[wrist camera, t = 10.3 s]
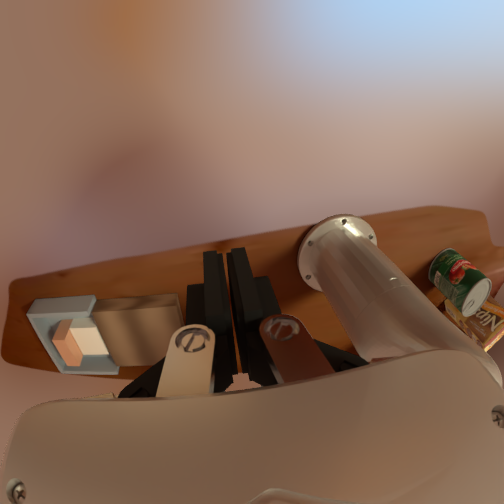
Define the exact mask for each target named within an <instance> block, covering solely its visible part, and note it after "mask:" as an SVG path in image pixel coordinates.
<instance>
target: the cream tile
mask: <svg viewBox="0 0 504 504" xmlns="http://www.w3.org/2000/svg"><path fill="white" fill-rule="evenodd" d="M69 329H70V331H71V333H72V335H73V337H74V339H75V341H76V343H77V344H78V346H79V348H80V350H81V352H82V354H83V355H102V354H109V350H108V348H107V346H106V344H105V342H104V339H103V337H102V335H101V333H100V331H99V329H98V326H97V324H96V322H95V320H94V317H89V318H73V321H72V323H71V325H70V327H69Z"/></svg>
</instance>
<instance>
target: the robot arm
mask: <svg viewBox="0 0 504 504" xmlns="http://www.w3.org/2000/svg"><path fill="white" fill-rule="evenodd" d="M226 255H227V266H228V276H229V286H230V296H231V306H232V313H233V320H234V326H235V332H236V338H237V344H238V350H239V355H240V361H241V367H242V372H243V373H248V375H249V379H250V381H255V382H256V383H258V384H260V385H261V387H259V388H252V389H245V390H237V391H229V392H225V390H226V388H228V387H229V386H230V385H231V384H232V383H233V377H232V375H235V374H238V369H237V361H236V353H235V345H234V336H233V327H232V319H231V311H230V304H229V297H228V291H227V284H226V277H225V270H224V263H223V256H222V253H220V254H217V251H207V252H203V263H204V283H203V284H193V285H188V286H187V303H186V326H184V327H182V328H180V329H178V330H177V331H176V332H175V333H174V334H173V335H172V337H171V340H170V343H169V347H168V351H167V355H166V356H165V357H164V358H162V359H161V360H160V361H159V362H157V363H156V364H155V365H153V366H152V367H151V368H150V369H148V370H147V371H146V372H144V373H143V374H142V375H141V376H139V377H138V378H137V379H135V380H134V381H133V382H131V383H130V384H129V385H127V386H126V387H125V388H124V389H123V390H122V391H121V392H120V394H119V395H114V394H113V393H107V394H102V395H97V396H91V397H86V398H72V399H61V400H55V401H49V402H46V403H42V404H38V405H36V406H33V407H31V408H29V409H27V410H26V411H25V412H24V413H22V414H21V415H20V417H19V418H18V419H17V421H16V423H15V425H14V427H13V429H12V431H11V434H10V436H9V439H8V442H7V445H6V448H5V452H4V456H3V460H2V464H1V468H0V504H504V390H503V389H502V377H501V373H500V371H499V368H498V366H497V365H496V363H495V362H494V361H493V359H492V358H491V357H490V356H489V355H488V354H487V353H486V352H485V351H484V350H483V349H482V348H481V347H480V346H479V345H477V344H476V343H475V342H474V341H473V340H471V339H470V338H469V337H468V336H467V335H465V334H464V333H463V332H462V331H461V330H459V329H458V328H457V327H456V326H455V325H454V324H453V323H452V322H450V321H449V320H448V319H447V318H446V317H445V316H444V315H443V314H442V313H441V312H440V311H439V310H438V309H437V308H436V307H435V306H434V305H433V304H432V303H431V302H430V301H429V300H428V298H427V297H426V296H425V295H424V294H423V293H422V292H421V291H420V290H419V289H418V288H417V287H416V286H415V285H414V284H413V283H412V282H411V280H410V279H409V278H408V277H407V276H406V275H405V274H404V273H403V272H402V271H401V270H400V269H399V268H398V267H397V266H396V265H395V264H394V263H393V262H392V261H391V260H390V259H389V258H388V257H387V256H386V255H385V254H384V253H383V252H382V251H381V250H380V249H379V248H378V247H377V240H376V236H375V233H374V231H373V229H372V228H371V227H370V225H369V224H368V223H367V222H365V221H364V220H363V219H361V218H359V217H358V216H354V215H351V214H339V215H334V216H331V217H328V218H326V219H324V220H322V221H320V222H319V223H318V224H316V225H315V226H314V227H313V228H312V229H311V230H310V231H309V232H308V233H307V235H306V236H305V238H304V239H303V241H302V243H301V245H300V247H299V252H298V258H297V264H298V269H299V272H300V274H301V276H302V278H303V280H304V281H305V282H306V283H307V284H308V285H309V286H310V287H312V288H313V289H315V290H318V291H322V292H324V294H325V296H326V298H327V299H328V301H329V303H330V305H331V306H332V308H333V310H334V312H335V313H336V315H337V317H338V319H339V320H340V322H341V324H342V326H343V327H344V329H345V331H346V333H347V335H348V336H349V338H350V340H351V342H352V343H353V345H354V347H355V349H356V350H357V352H358V354H359V355H360V356H361V357H362V358H361V357H359V356H356V355H354V354H351V353H348V352H346V351H343V350H341V349H338V348H335V347H333V346H330V345H328V344H325V343H323V342H320V341H318V340H315V339H313V338H312V337H311V335H310V334H309V332H308V331H307V329H306V328H305V326H304V325H303V323H302V322H301V321H300V320H299V319H298V318H296V317H294V316H291V315H288V314H282V313H281V310H280V308H279V305H278V302H277V299H276V297H275V294H274V291H273V288H272V286H271V283H270V280H269V278H268V276H263V277H255V278H253V275H252V271H251V268H250V264H249V261H248V257H247V254H246V250H245V247H243V248H234V249H231V252H230V253H226Z"/></svg>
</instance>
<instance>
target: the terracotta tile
mask: <svg viewBox="0 0 504 504" xmlns="http://www.w3.org/2000/svg"><path fill="white" fill-rule="evenodd" d="M72 321H73V319H66V320H61V322H60V324H59V326H58V328H57V330H56V332H55V335H54V337H53V339H52V341H53V343H54V345H55V346H56V348H57V350H58V351H59V353H60V355H61V356H62V358H63V360H64V361H65V363H66V364H67V366H80V363H81V360H82V357H83V354H82V352H81V350H80V348H79V346H78V344H77V343H76V341H75V339H74V337H73V335H72V333H71V331H70V329H69V327H70V325H71V323H72Z"/></svg>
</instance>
